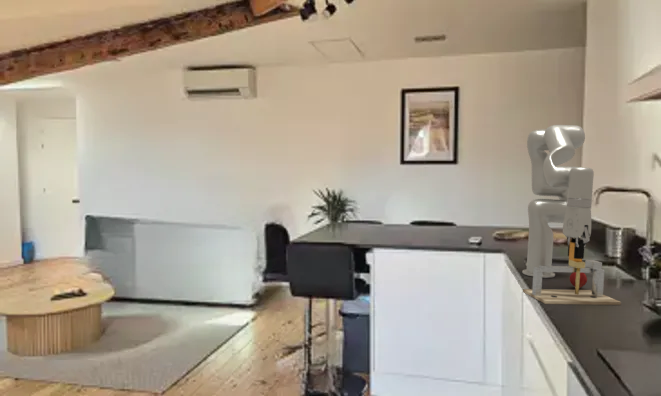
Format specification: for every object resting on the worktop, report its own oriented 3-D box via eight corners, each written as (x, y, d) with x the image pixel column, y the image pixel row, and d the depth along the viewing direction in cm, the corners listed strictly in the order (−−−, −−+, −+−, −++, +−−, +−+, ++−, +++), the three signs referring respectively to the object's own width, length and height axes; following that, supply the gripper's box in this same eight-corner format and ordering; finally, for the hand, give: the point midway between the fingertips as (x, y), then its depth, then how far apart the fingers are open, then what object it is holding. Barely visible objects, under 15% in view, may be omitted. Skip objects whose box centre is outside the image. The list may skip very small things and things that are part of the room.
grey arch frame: (531, 293, 180) (534, 258, 179) (598, 294, 182) (600, 260, 181) (538, 297, 175) (540, 261, 174) (606, 298, 177) (609, 262, 177)
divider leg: (566, 291, 181) (569, 242, 180) (574, 291, 181) (578, 242, 180) (574, 294, 176) (577, 244, 175) (582, 294, 177) (586, 244, 176)
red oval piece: (567, 288, 194) (568, 267, 194) (571, 286, 199) (572, 265, 198) (584, 291, 191) (585, 269, 190) (587, 289, 195) (589, 267, 195)
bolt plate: (522, 291, 187) (523, 288, 187) (592, 292, 189) (592, 289, 189) (545, 303, 171) (545, 300, 171) (620, 304, 173) (620, 301, 173)
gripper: (556, 201, 186) (552, 253, 187) (582, 205, 169) (578, 261, 171) (576, 202, 186) (572, 253, 188) (604, 206, 170) (600, 262, 171)
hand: (575, 257), depth 179 cm, fingers closed on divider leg, 3 cm apart
